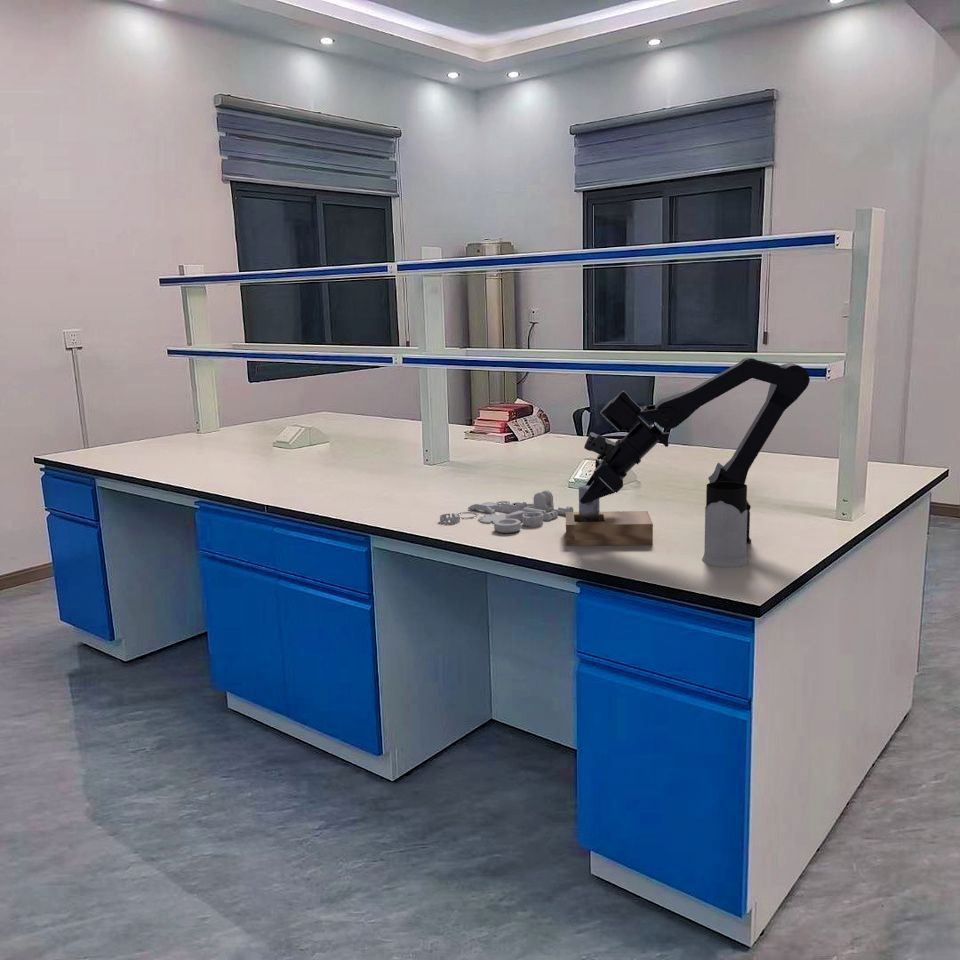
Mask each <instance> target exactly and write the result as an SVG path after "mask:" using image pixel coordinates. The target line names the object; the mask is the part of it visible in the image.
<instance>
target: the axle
mask: <svg viewBox="0 0 960 960" xmlns="http://www.w3.org/2000/svg"><path fill="white" fill-rule="evenodd" d="M589 487H590V486H585V485H581V486H578V512H579V522H600V512H601V510H600V503H601V502H600V498H598V499H596V500H593V501H591V502H588V503H585V504H582V503H581V502H580V499H581V498H582V496H583V495H584V494H585V492H586V491H587V489H588V488H589Z"/></svg>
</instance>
